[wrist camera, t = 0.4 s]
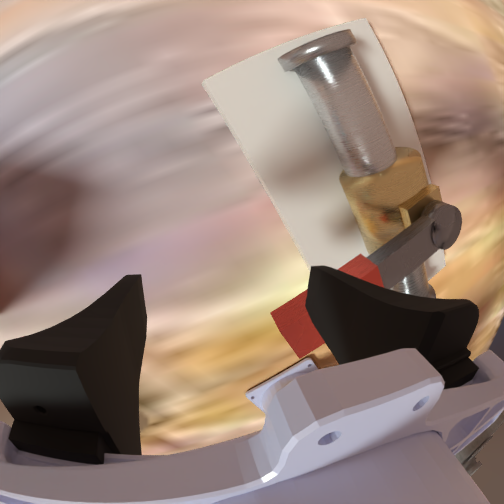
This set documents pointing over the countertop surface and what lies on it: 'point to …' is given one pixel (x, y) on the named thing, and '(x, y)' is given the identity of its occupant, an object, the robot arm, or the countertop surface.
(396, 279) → the valve lever
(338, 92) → the ball valve
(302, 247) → the mounting board
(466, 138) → the countertop surface
